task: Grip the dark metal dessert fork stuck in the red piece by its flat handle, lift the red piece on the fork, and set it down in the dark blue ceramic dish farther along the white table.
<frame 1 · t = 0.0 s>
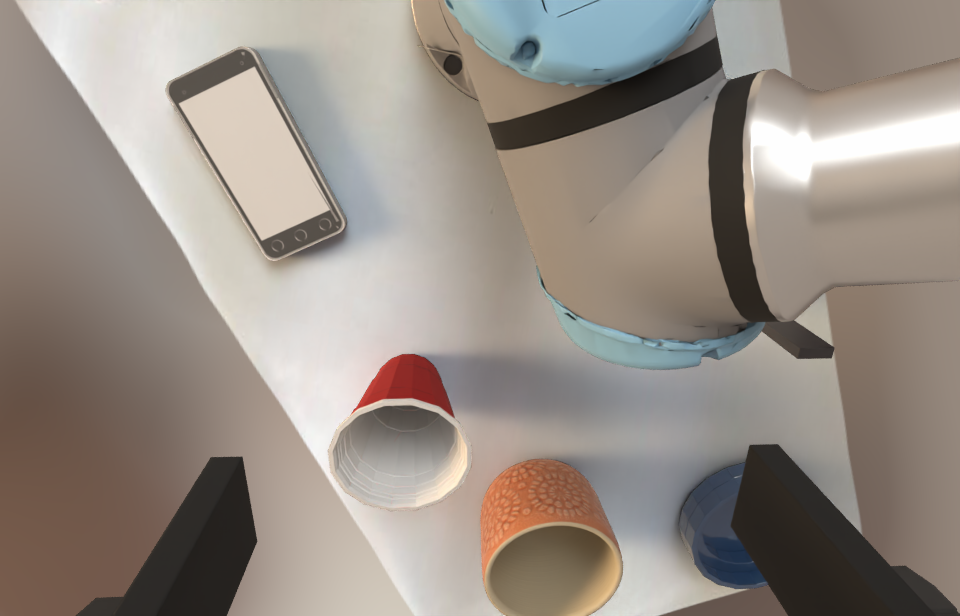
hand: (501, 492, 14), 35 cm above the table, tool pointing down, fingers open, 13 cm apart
smartphone: (264, 159, 44), on the table
plastic cup: (409, 381, 52), on the table
planter: (534, 489, 58), on the table
dish: (740, 510, 61), on the table
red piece: (713, 279, 50), on the table
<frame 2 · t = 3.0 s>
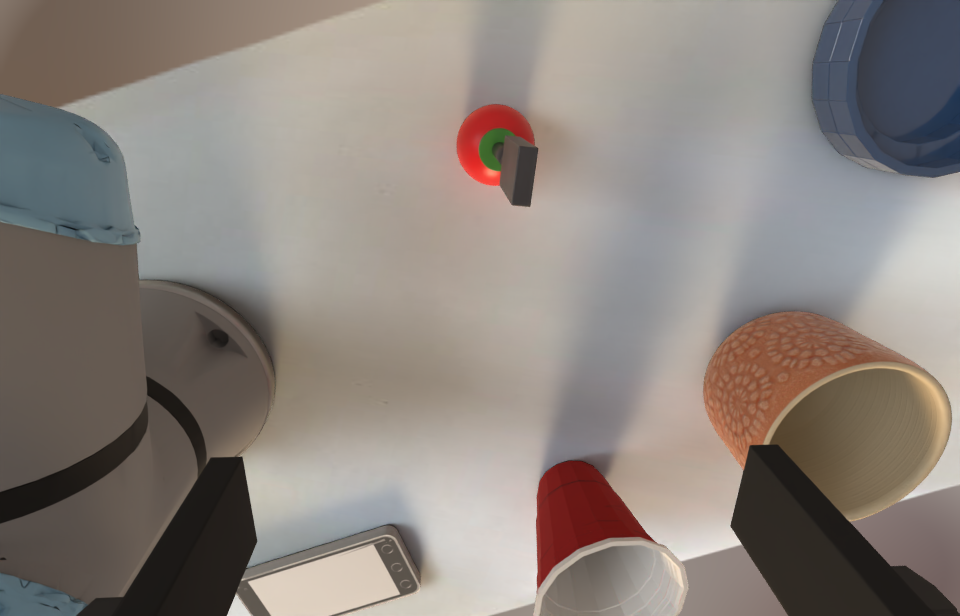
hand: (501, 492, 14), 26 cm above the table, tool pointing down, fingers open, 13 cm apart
smartphone: (330, 575, 49), on the table
plastic cup: (572, 485, 48), on the table
planter: (758, 364, 44), on the table
dish: (912, 57, 36), on the table
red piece: (491, 141, 36), on the table
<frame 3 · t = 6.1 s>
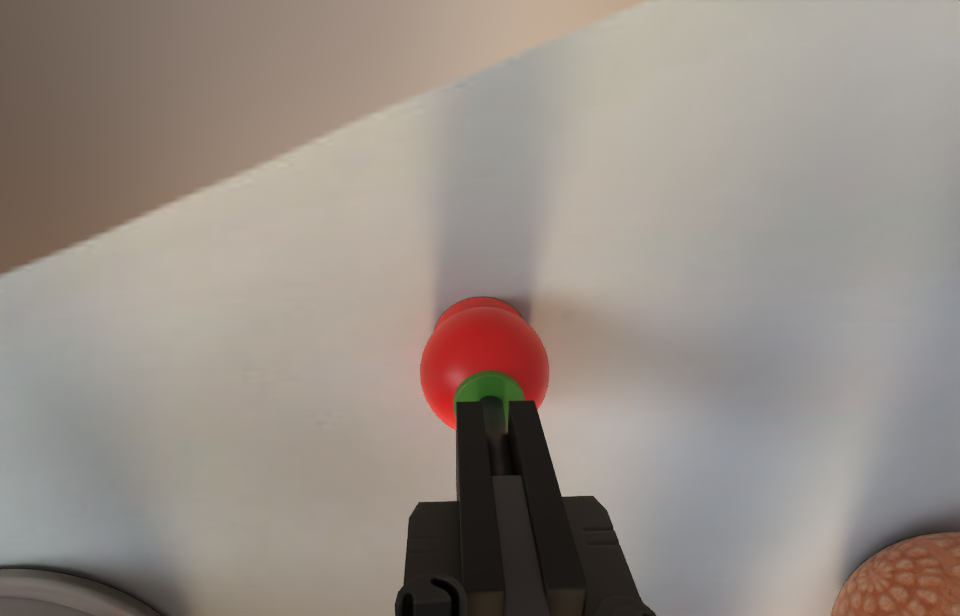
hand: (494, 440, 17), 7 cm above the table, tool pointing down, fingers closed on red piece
planter: (903, 583, 30), on the table
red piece: (480, 341, 23), on the table, touching gripper
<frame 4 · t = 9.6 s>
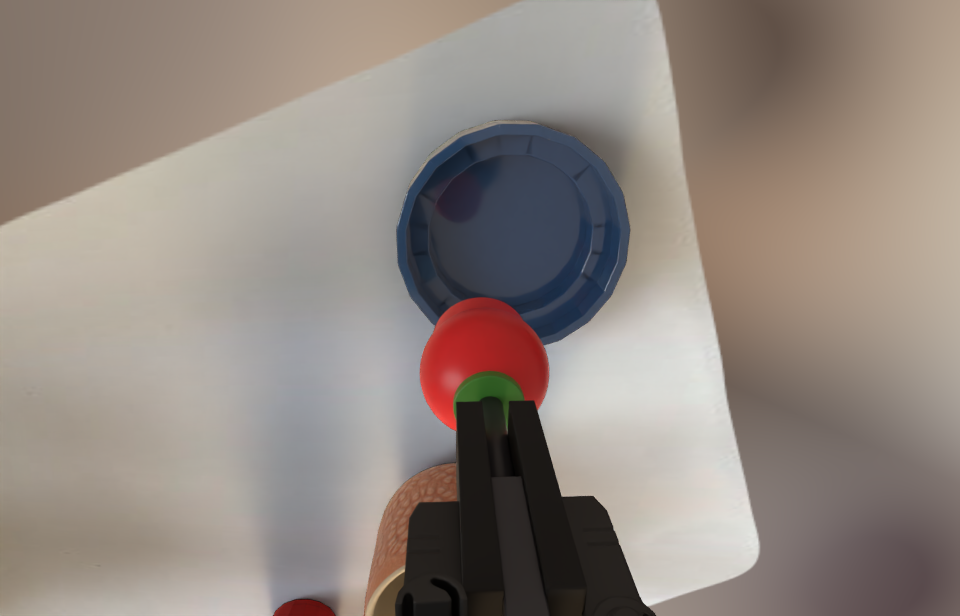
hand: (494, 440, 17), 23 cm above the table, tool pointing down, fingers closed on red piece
planter: (455, 502, 46), on the table
dish: (507, 230, 37), on the table
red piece: (480, 341, 23), point 16 cm above the table, touching gripper
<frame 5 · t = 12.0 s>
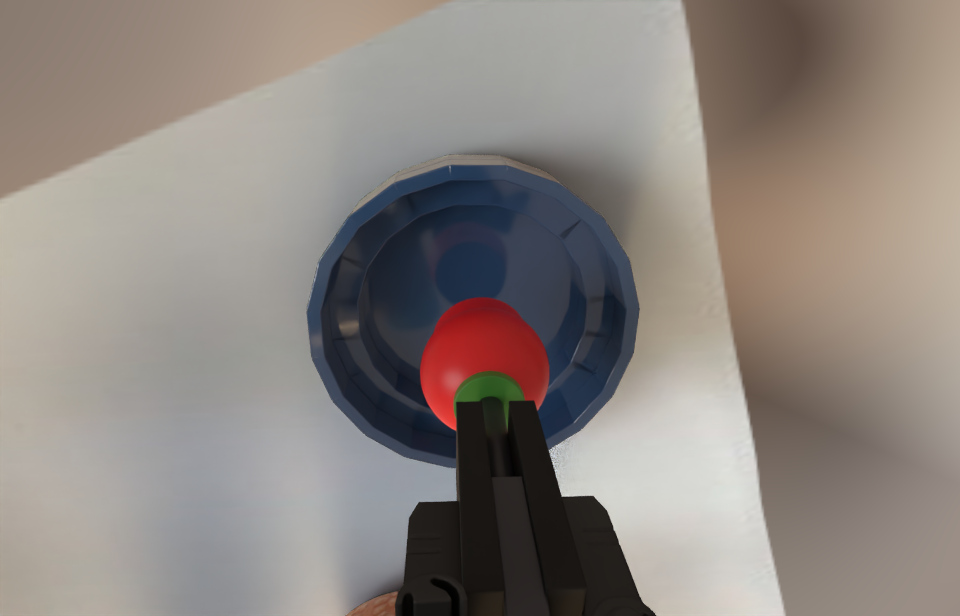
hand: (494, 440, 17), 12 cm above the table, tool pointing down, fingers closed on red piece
dish: (471, 300, 27), on the table
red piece: (480, 341, 23), point 5 cm above the table, touching gripper
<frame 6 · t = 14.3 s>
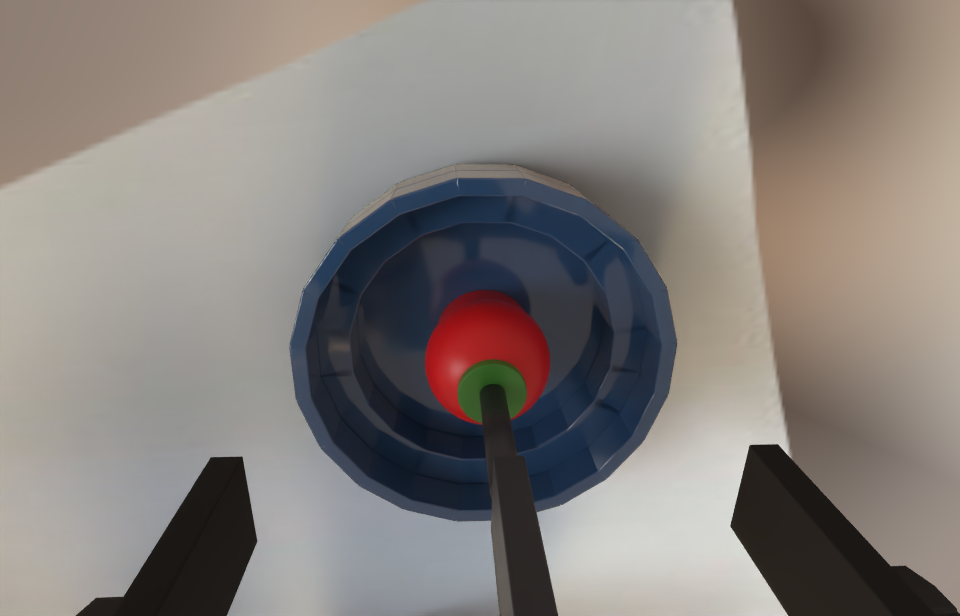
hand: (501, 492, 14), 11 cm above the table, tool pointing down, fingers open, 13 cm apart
dish: (480, 328, 24), on the table
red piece: (483, 333, 24), point 1 cm above the table, touching dish
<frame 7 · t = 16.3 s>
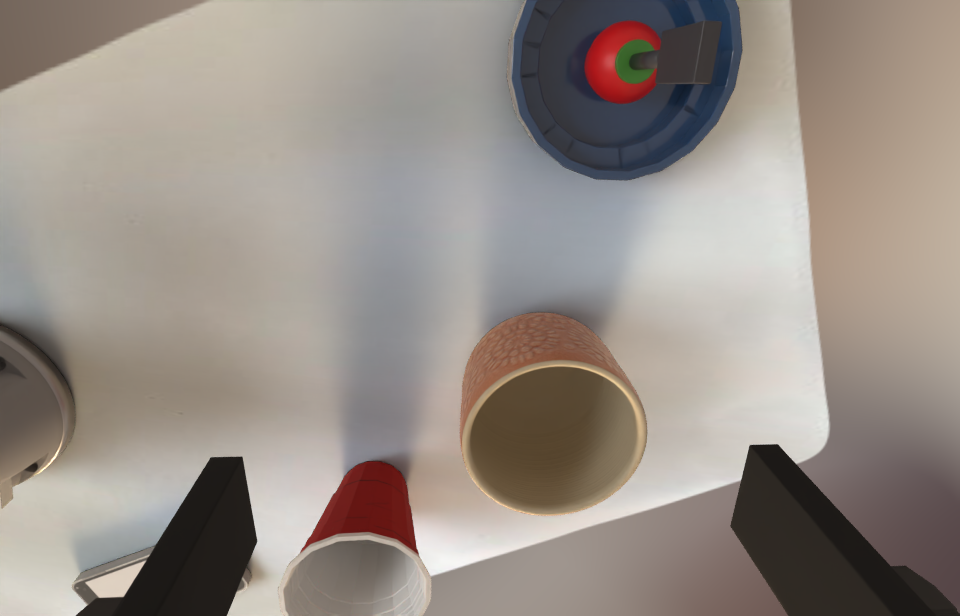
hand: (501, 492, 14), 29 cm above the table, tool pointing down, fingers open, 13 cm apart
smartphone: (166, 575, 53), on the table
plastic cup: (377, 484, 50), on the table
planter: (533, 363, 46), on the table
dish: (610, 65, 38), on the table
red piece: (613, 64, 37), point 1 cm above the table, touching dish
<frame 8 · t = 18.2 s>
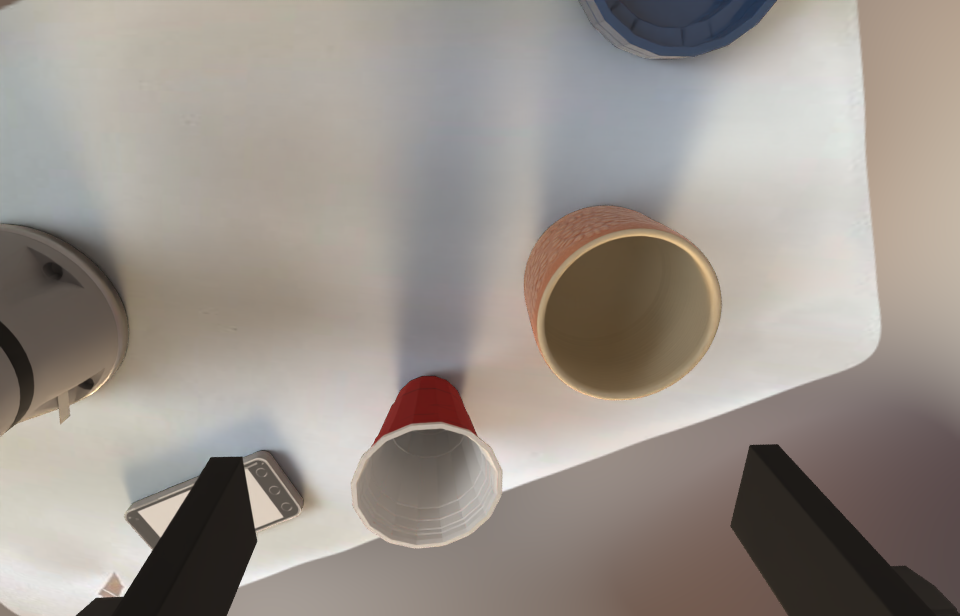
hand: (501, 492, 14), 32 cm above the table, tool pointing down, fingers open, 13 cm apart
smartphone: (218, 504, 53), on the table
plastic cup: (431, 401, 50), on the table
planter: (588, 267, 46), on the table
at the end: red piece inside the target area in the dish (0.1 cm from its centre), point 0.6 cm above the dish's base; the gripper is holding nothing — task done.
